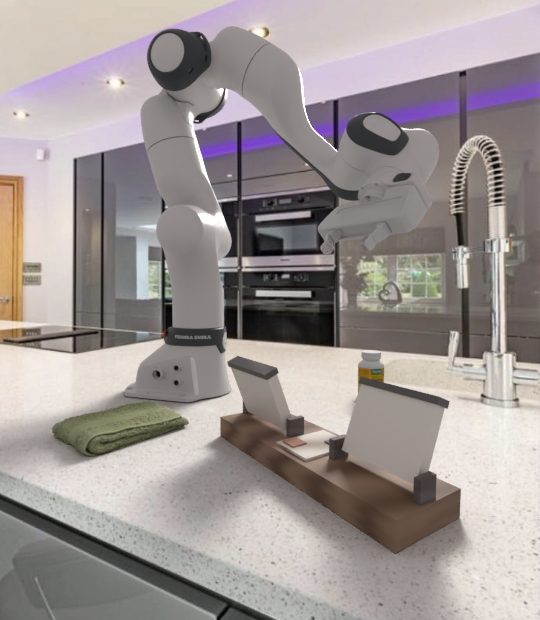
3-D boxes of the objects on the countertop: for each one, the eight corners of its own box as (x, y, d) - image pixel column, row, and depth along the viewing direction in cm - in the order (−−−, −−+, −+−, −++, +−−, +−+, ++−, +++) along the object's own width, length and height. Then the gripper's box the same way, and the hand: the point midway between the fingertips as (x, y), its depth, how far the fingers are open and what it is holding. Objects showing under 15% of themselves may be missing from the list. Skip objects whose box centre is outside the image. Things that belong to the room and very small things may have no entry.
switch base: (220, 435, 63) (220, 401, 62) (273, 423, 68) (273, 392, 68) (395, 553, 35) (397, 493, 35) (459, 517, 41) (461, 465, 41)
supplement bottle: (369, 392, 89) (370, 348, 89) (389, 397, 85) (390, 352, 84) (352, 395, 86) (352, 350, 86) (371, 401, 82) (372, 354, 81)
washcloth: (193, 428, 67) (193, 409, 67) (86, 463, 54) (86, 440, 53) (149, 412, 76) (148, 395, 75) (47, 438, 62) (46, 418, 62)
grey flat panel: (339, 448, 47) (360, 376, 49) (350, 451, 48) (370, 380, 50) (415, 485, 39) (439, 396, 40) (427, 488, 40) (449, 401, 41)
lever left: (245, 411, 63) (226, 361, 61) (255, 404, 64) (237, 355, 62) (285, 431, 55) (265, 374, 52) (295, 423, 56) (276, 367, 53)
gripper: (334, 193, 80) (295, 240, 75) (426, 170, 63) (382, 228, 58) (350, 219, 83) (313, 265, 78) (441, 202, 66) (401, 260, 61)
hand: (343, 249), depth 68 cm, fingers open, 8 cm apart
